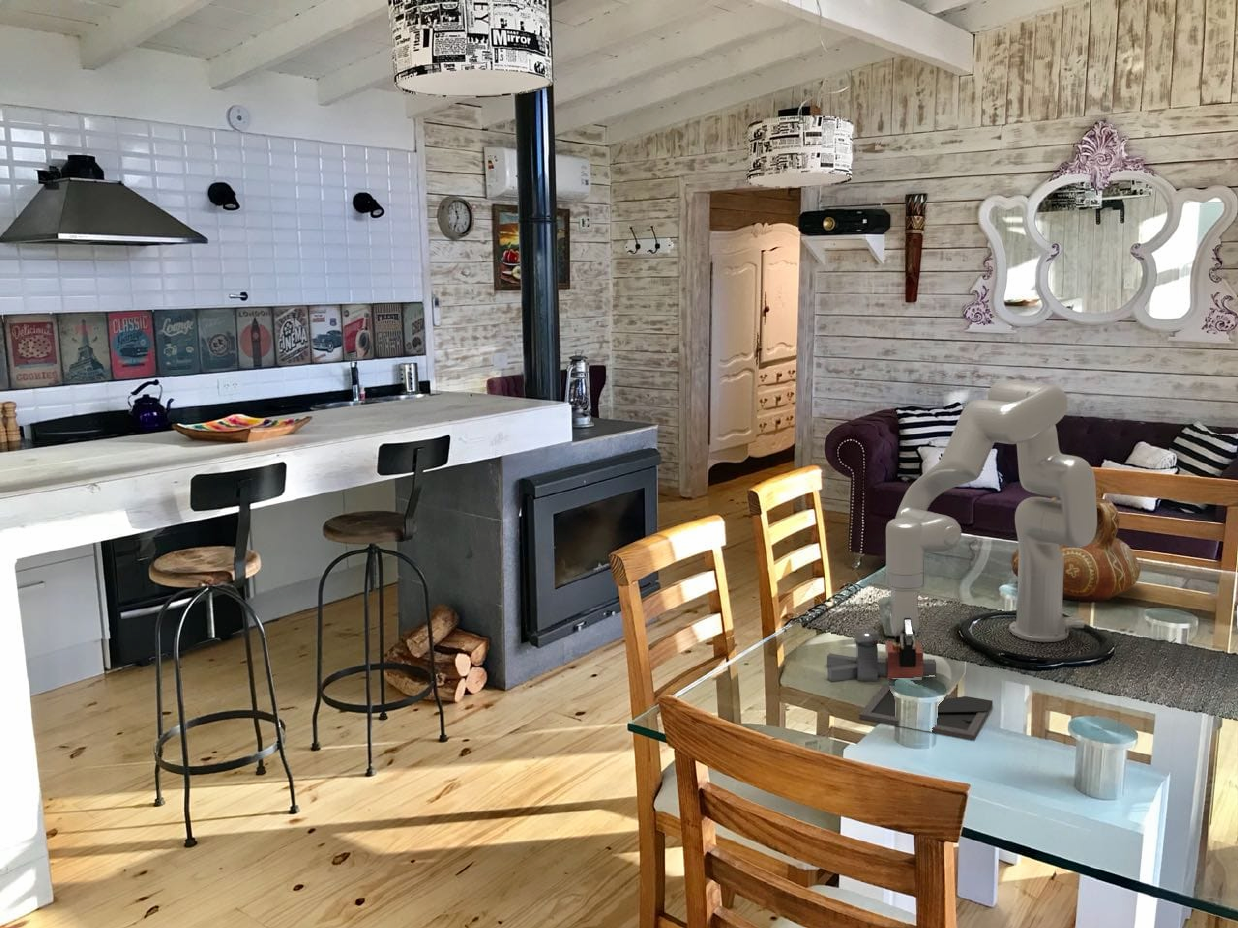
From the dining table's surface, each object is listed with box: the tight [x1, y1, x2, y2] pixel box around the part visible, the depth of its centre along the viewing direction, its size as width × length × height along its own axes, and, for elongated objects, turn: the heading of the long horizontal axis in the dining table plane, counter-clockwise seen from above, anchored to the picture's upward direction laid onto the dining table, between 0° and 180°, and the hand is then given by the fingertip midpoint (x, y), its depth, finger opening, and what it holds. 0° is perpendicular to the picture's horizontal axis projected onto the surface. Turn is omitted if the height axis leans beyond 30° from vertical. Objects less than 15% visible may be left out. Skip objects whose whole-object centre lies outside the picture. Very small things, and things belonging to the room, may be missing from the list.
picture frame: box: [858, 683, 994, 742], centre depth 199 cm, size 16×2×21 cm
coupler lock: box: [884, 640, 924, 681], centre depth 217 cm, size 7×6×7 cm
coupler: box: [826, 628, 937, 683], centre depth 218 cm, size 22×10×9 cm, turn 80°
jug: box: [1010, 496, 1141, 604], centre depth 265 cm, size 30×30×25 cm
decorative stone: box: [877, 595, 920, 637], centre depth 243 cm, size 13×11×10 cm
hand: (905, 657), depth 217 cm, fingers open, 9 cm apart
